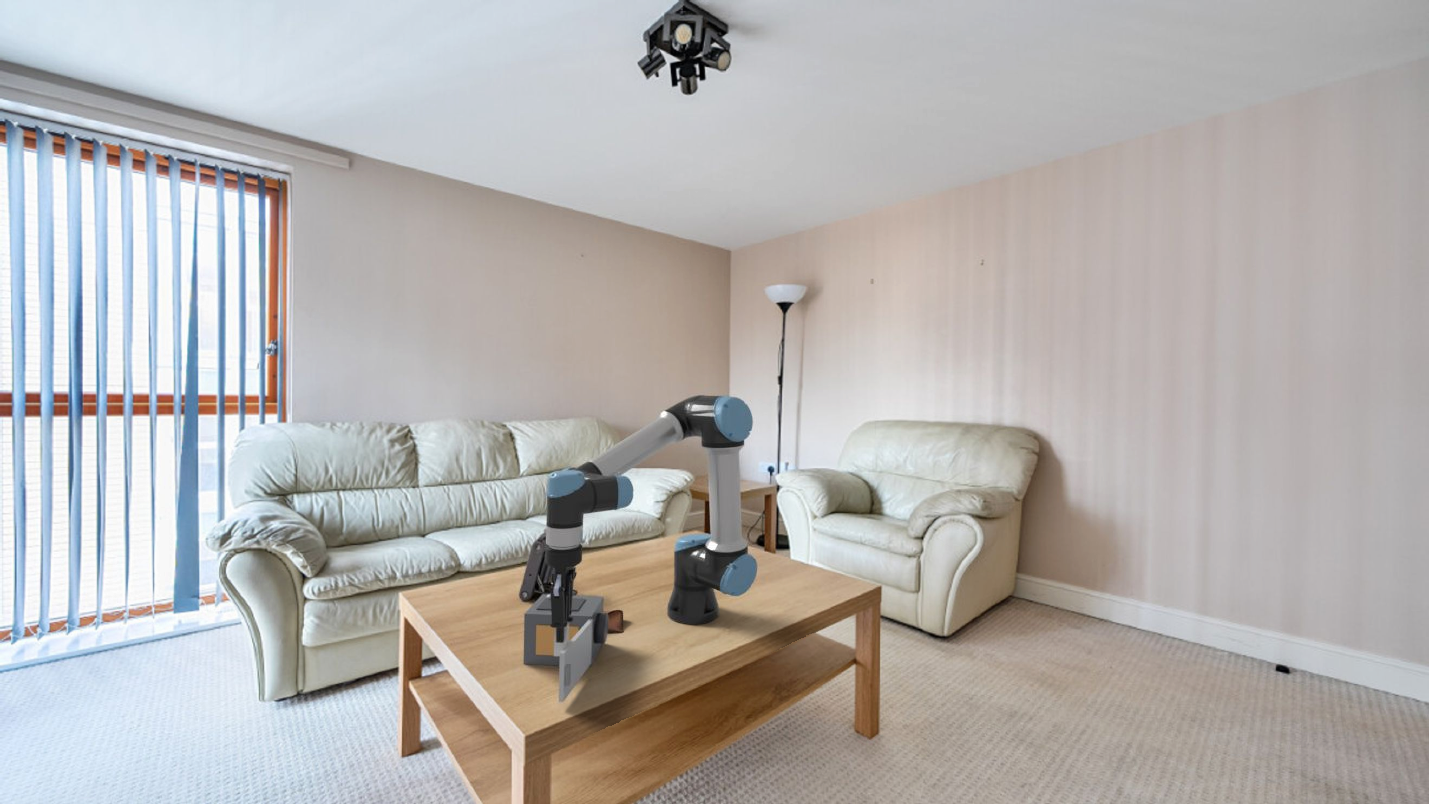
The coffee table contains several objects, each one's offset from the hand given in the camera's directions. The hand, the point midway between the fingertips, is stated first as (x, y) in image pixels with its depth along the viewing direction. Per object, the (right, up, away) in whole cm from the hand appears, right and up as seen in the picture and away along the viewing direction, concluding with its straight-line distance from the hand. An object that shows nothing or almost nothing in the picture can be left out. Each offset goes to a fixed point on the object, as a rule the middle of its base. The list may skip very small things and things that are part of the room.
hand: (560, 654), depth 113 cm
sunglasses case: (-1, -9, +33) cm, 34 cm away
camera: (-19, -8, +55) cm, 59 cm away
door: (+3, -7, +4) cm, 9 cm away
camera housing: (-4, -9, +18) cm, 21 cm away
